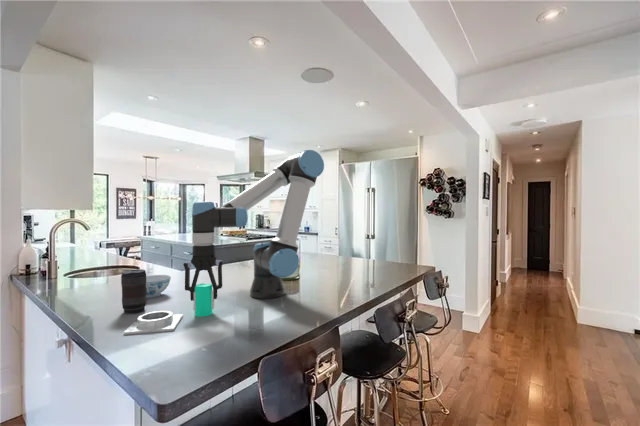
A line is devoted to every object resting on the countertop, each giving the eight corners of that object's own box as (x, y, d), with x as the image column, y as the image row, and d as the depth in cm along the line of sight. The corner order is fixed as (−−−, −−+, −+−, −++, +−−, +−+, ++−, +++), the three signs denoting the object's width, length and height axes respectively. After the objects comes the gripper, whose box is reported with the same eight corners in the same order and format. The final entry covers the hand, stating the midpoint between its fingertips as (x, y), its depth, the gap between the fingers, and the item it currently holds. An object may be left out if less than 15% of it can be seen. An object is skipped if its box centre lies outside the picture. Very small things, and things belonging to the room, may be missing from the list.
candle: (208, 316, 111) (208, 282, 111) (191, 316, 111) (191, 282, 111) (214, 311, 117) (214, 279, 117) (198, 311, 117) (198, 279, 117)
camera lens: (123, 309, 120) (123, 270, 120) (147, 306, 123) (147, 268, 123) (119, 315, 113) (119, 273, 113) (145, 312, 116) (145, 272, 116)
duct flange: (182, 316, 112) (182, 307, 112) (173, 330, 98) (173, 321, 98) (139, 319, 108) (139, 310, 108) (123, 334, 95) (123, 324, 95)
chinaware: (148, 290, 149) (148, 274, 149) (177, 291, 147) (177, 275, 147) (124, 299, 134) (124, 281, 134) (156, 300, 132) (156, 282, 132)
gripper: (230, 242, 120) (230, 303, 120) (178, 244, 116) (179, 307, 116) (229, 244, 113) (229, 309, 113) (174, 246, 108) (174, 313, 108)
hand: (204, 308), depth 114 cm, fingers closed on candle, 5 cm apart
